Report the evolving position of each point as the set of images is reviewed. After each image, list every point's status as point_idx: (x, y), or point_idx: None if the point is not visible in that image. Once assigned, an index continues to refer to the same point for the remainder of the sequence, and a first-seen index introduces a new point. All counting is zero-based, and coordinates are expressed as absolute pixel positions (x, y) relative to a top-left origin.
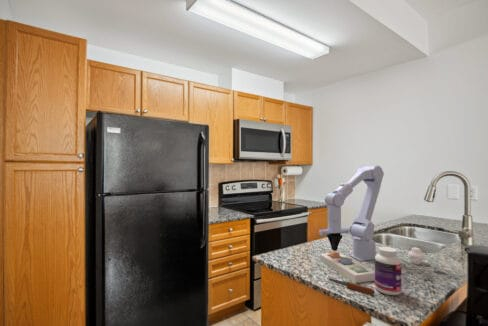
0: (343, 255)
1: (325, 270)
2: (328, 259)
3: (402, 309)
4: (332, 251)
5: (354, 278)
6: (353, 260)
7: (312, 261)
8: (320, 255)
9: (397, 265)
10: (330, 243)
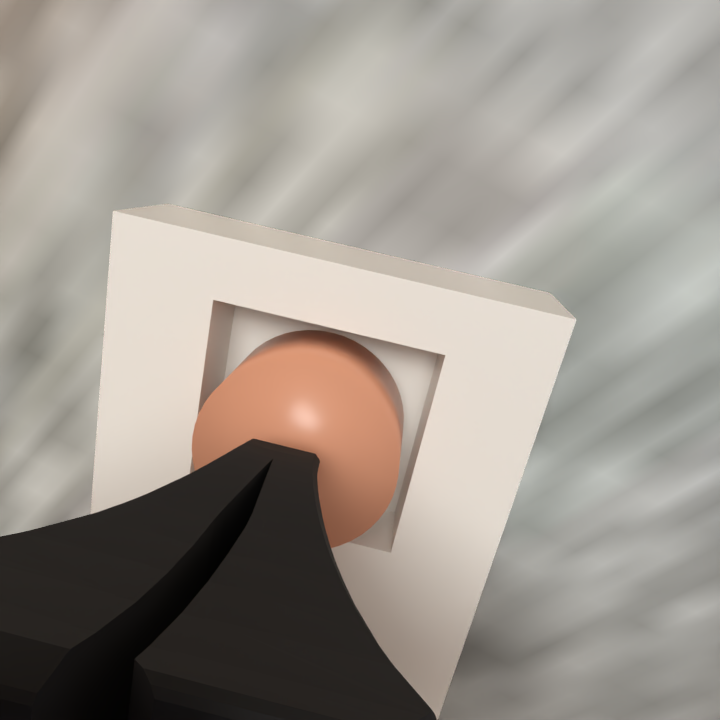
0: (490, 492)
1: (13, 518)
2: (92, 490)
3: None
4: (326, 378)
5: None
6: (429, 701)
7: (21, 186)
8: (122, 236)
9: None
10: (166, 494)
